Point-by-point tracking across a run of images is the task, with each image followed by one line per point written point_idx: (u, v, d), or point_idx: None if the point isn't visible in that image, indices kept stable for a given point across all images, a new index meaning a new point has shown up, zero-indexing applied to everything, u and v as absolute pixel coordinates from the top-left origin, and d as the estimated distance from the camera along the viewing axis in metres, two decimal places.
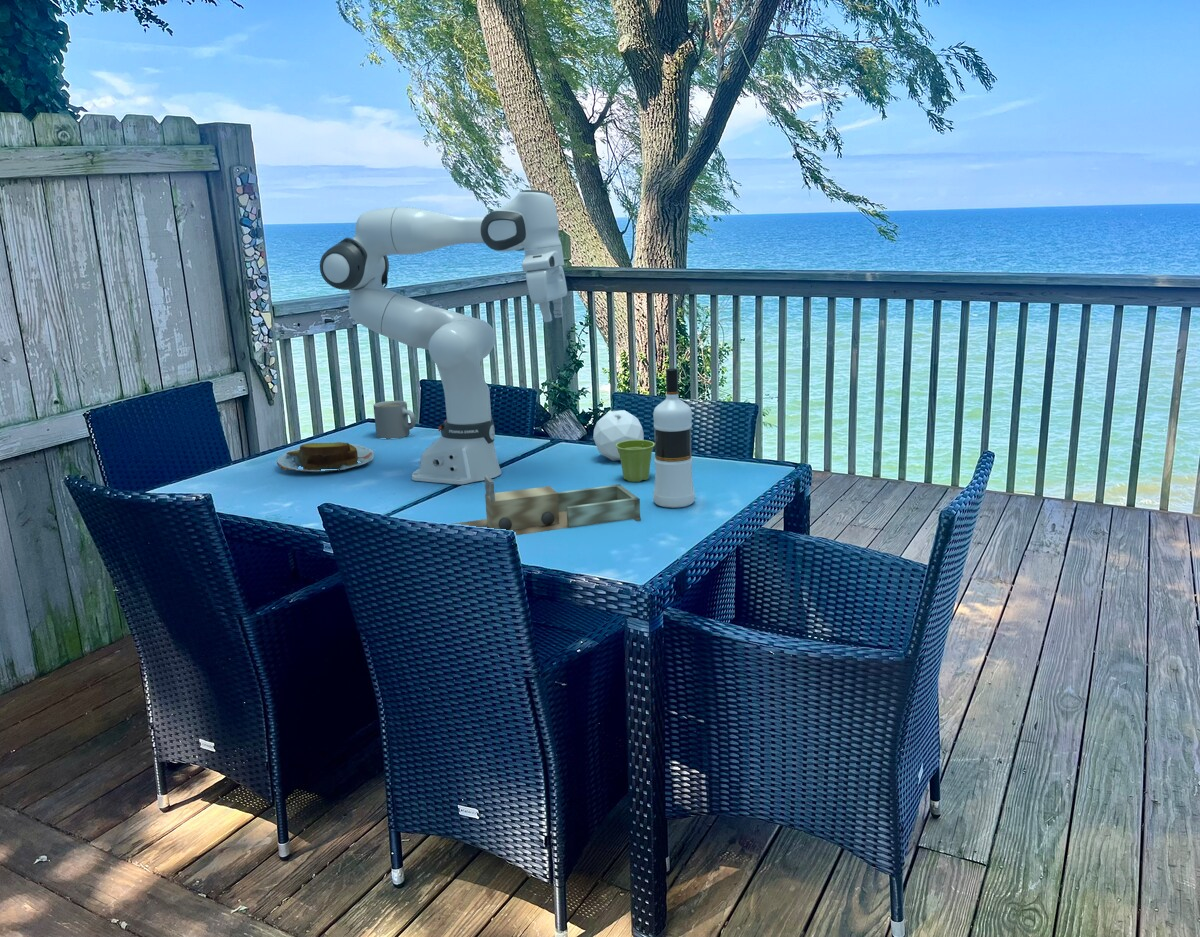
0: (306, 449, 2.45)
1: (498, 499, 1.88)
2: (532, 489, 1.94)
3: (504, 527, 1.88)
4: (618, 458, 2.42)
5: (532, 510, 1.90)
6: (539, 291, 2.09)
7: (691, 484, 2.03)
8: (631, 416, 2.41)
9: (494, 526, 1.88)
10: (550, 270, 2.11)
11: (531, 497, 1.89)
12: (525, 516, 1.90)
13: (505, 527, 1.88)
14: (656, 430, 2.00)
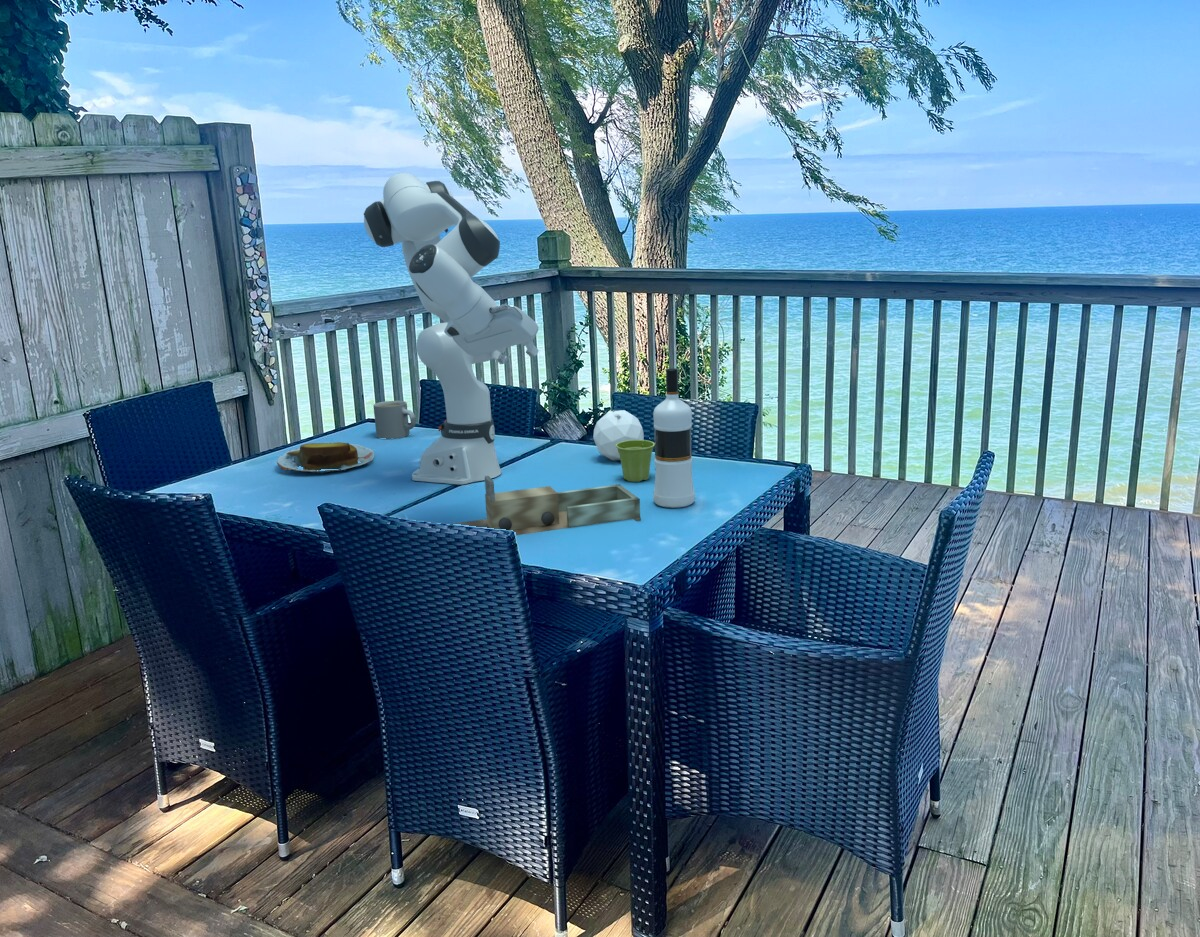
0: (306, 449, 2.45)
1: (498, 499, 1.88)
2: (532, 489, 1.94)
3: (504, 527, 1.88)
4: (618, 458, 2.42)
5: (532, 510, 1.90)
6: None
7: (691, 484, 2.03)
8: (631, 416, 2.41)
9: (494, 526, 1.88)
10: (459, 336, 1.91)
11: (531, 497, 1.89)
12: (525, 516, 1.90)
13: (505, 527, 1.88)
14: (656, 430, 2.00)
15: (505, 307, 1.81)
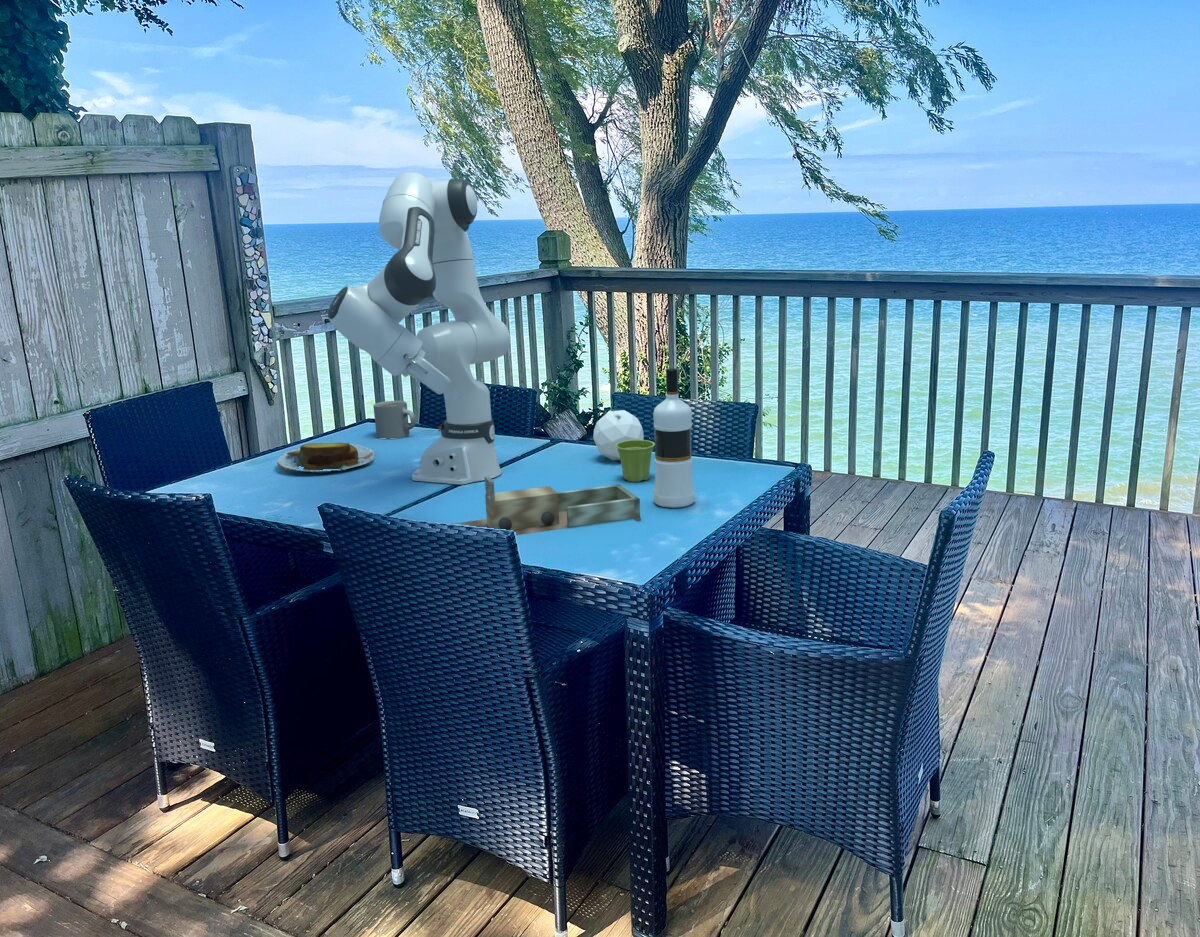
0: (307, 449, 2.45)
1: (498, 499, 1.88)
2: (532, 489, 1.94)
3: (504, 527, 1.88)
4: (618, 458, 2.42)
5: (532, 510, 1.90)
6: None
7: (691, 484, 2.03)
8: (631, 416, 2.41)
9: (494, 526, 1.88)
10: None
11: (531, 497, 1.89)
12: (525, 516, 1.90)
13: (505, 527, 1.88)
14: (656, 430, 2.00)
15: (408, 360, 1.74)
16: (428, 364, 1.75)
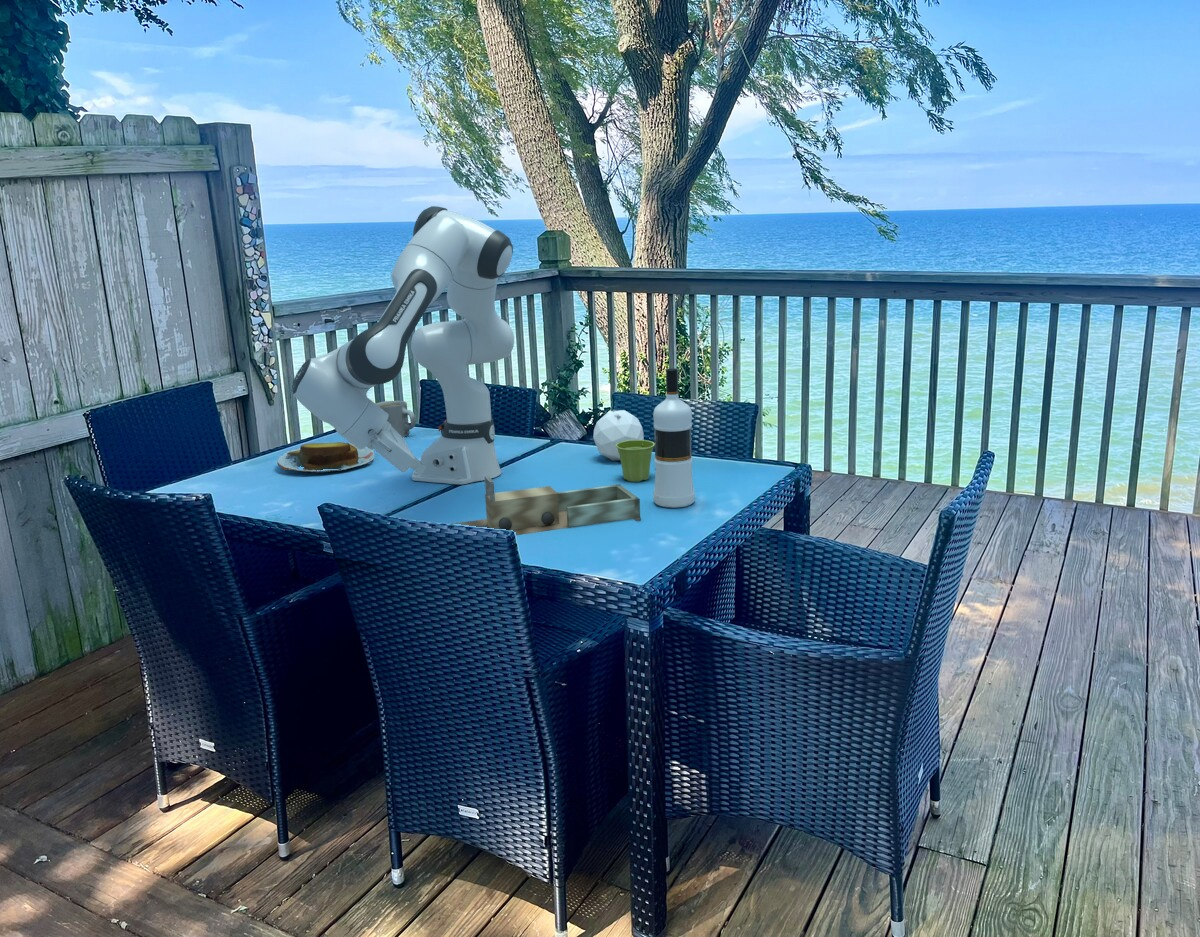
0: (307, 449, 2.45)
1: (498, 499, 1.88)
2: (532, 489, 1.94)
3: (504, 527, 1.88)
4: (618, 458, 2.42)
5: (532, 510, 1.90)
6: None
7: (691, 484, 2.03)
8: (631, 416, 2.41)
9: (494, 526, 1.88)
10: None
11: (531, 497, 1.89)
12: (525, 516, 1.90)
13: (505, 527, 1.88)
14: (656, 430, 2.00)
15: (372, 438, 1.70)
16: (392, 442, 1.71)
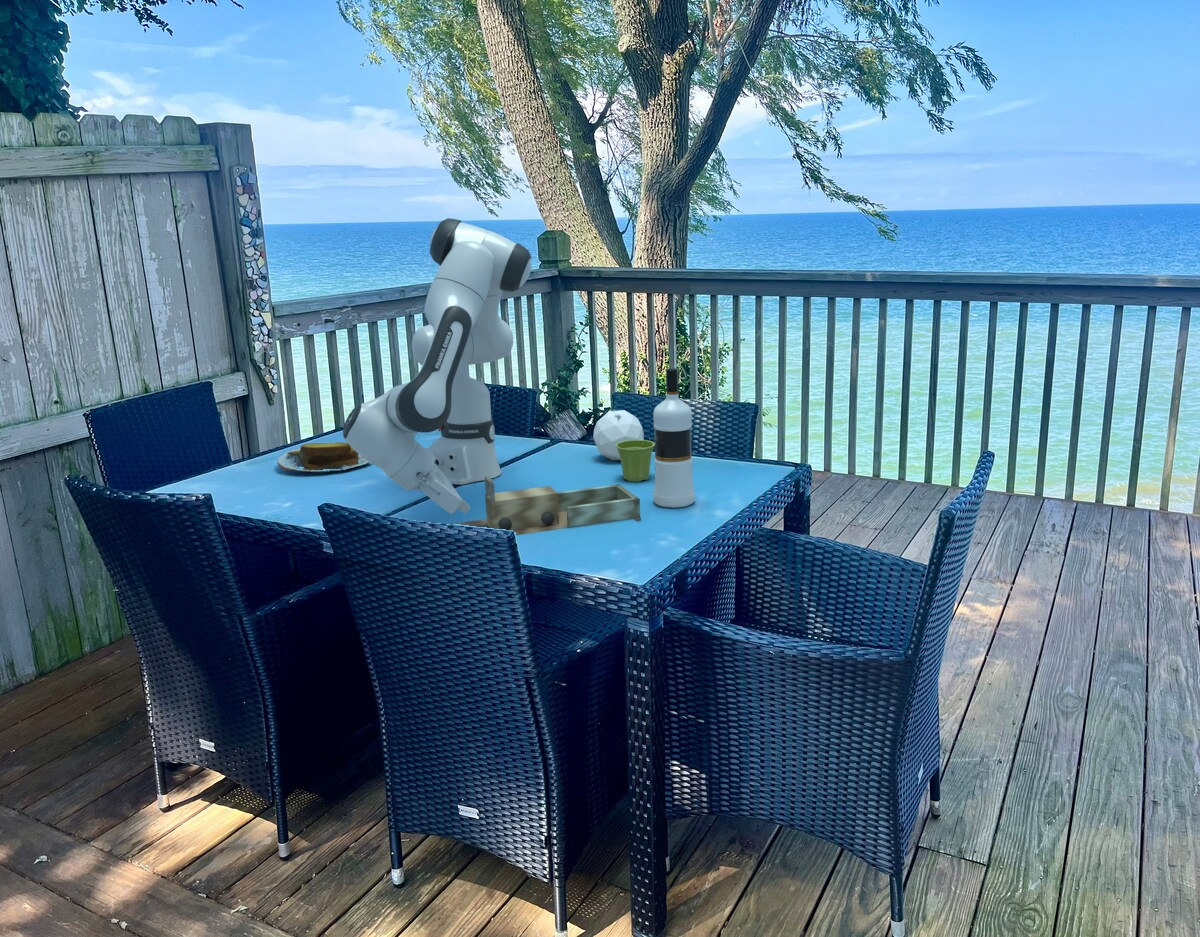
0: (307, 449, 2.45)
1: (498, 499, 1.88)
2: (532, 489, 1.94)
3: (504, 527, 1.88)
4: (618, 458, 2.42)
5: (532, 510, 1.90)
6: None
7: (691, 484, 2.03)
8: (631, 416, 2.41)
9: (494, 526, 1.88)
10: None
11: (531, 497, 1.89)
12: (525, 516, 1.90)
13: (505, 527, 1.88)
14: (656, 430, 2.00)
15: (421, 482, 1.75)
16: (441, 485, 1.76)
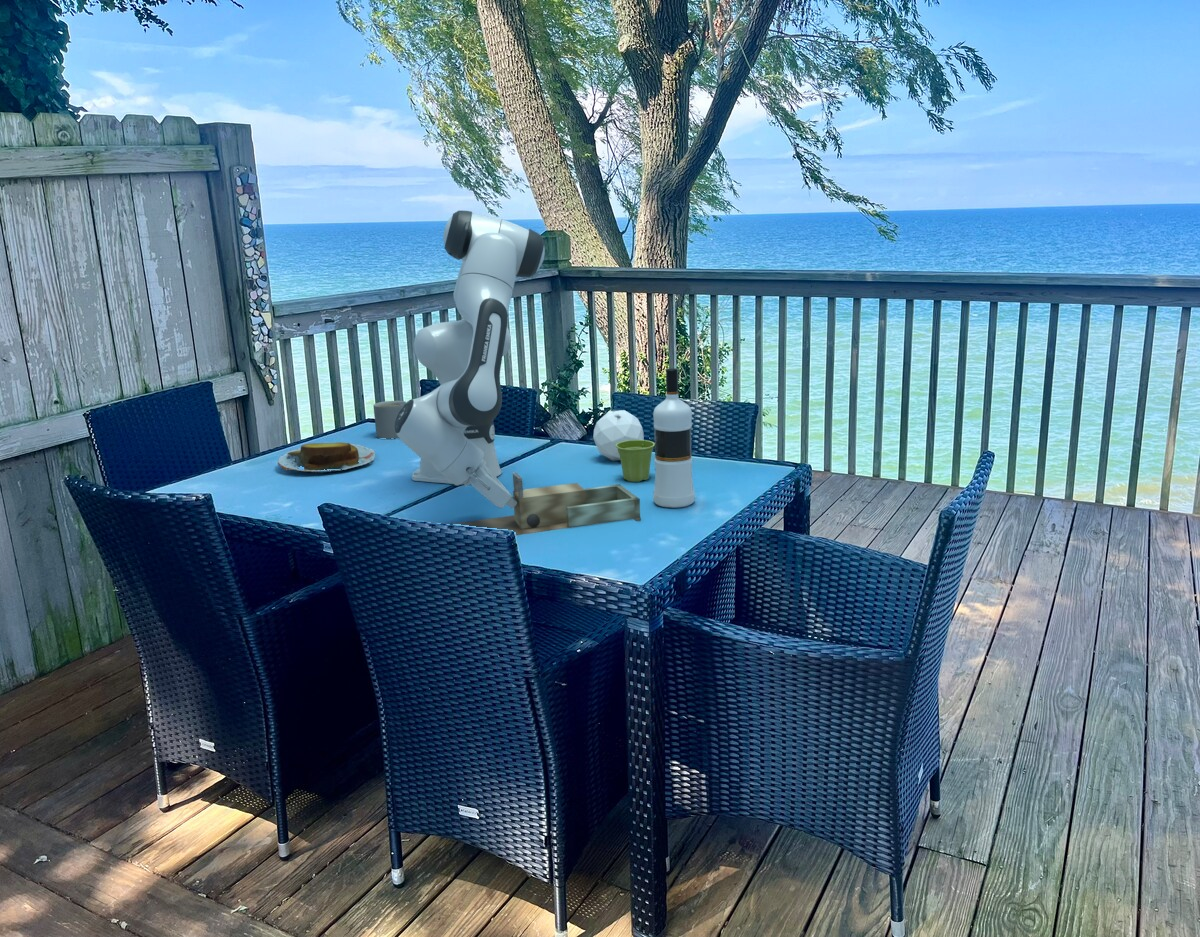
0: (307, 449, 2.45)
1: (526, 496, 1.90)
2: (559, 486, 1.96)
3: (532, 523, 1.90)
4: (618, 458, 2.42)
5: (560, 507, 1.92)
6: None
7: (691, 484, 2.03)
8: (631, 416, 2.41)
9: (522, 522, 1.90)
10: None
11: (559, 493, 1.91)
12: (552, 513, 1.91)
13: (533, 523, 1.90)
14: (656, 430, 2.00)
15: (472, 476, 1.78)
16: (491, 480, 1.79)
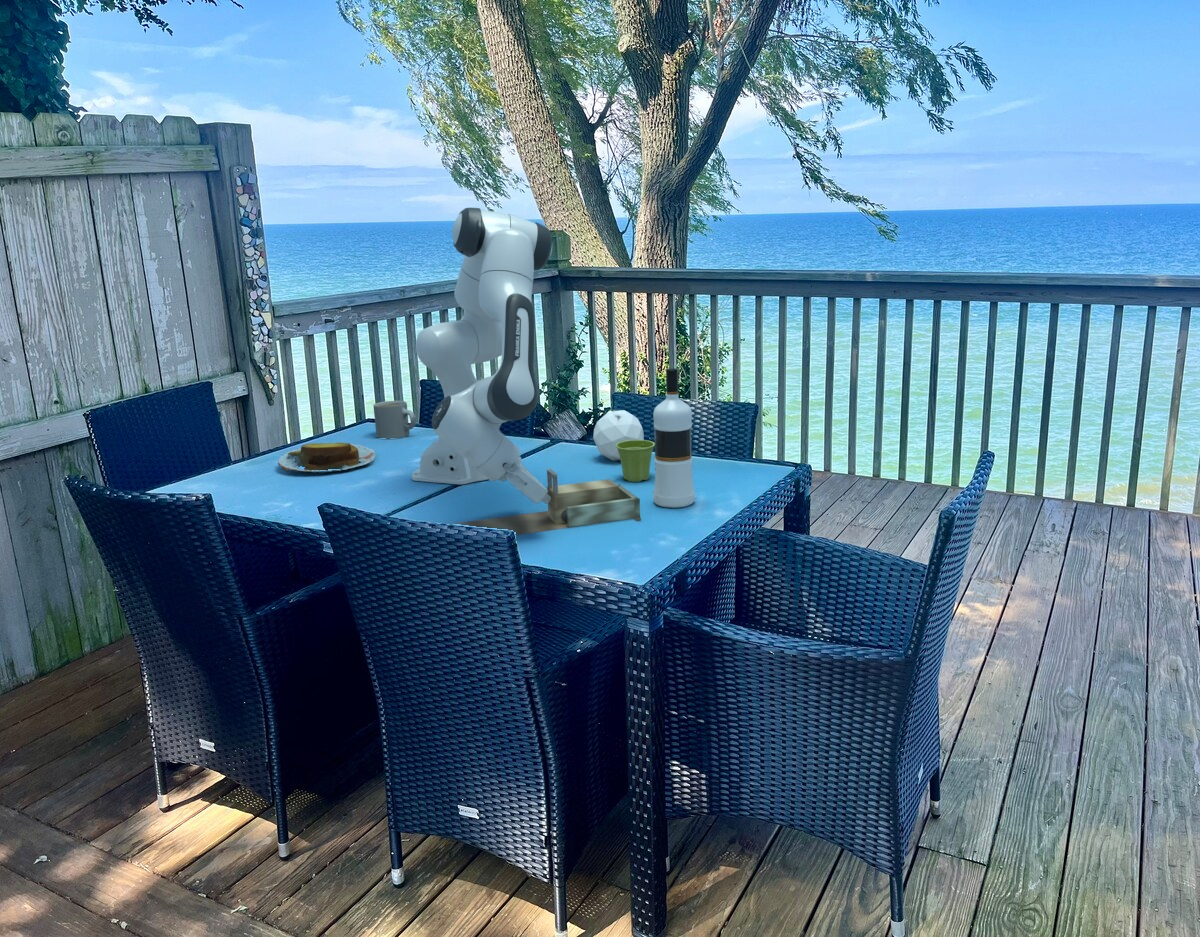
0: (307, 449, 2.45)
1: (561, 491, 1.92)
2: (592, 482, 1.98)
3: None
4: (618, 458, 2.42)
5: None
6: None
7: (691, 484, 2.03)
8: (631, 416, 2.41)
9: (557, 518, 1.92)
10: None
11: (593, 489, 1.93)
12: None
13: None
14: (656, 430, 2.00)
15: (509, 472, 1.80)
16: (528, 475, 1.81)
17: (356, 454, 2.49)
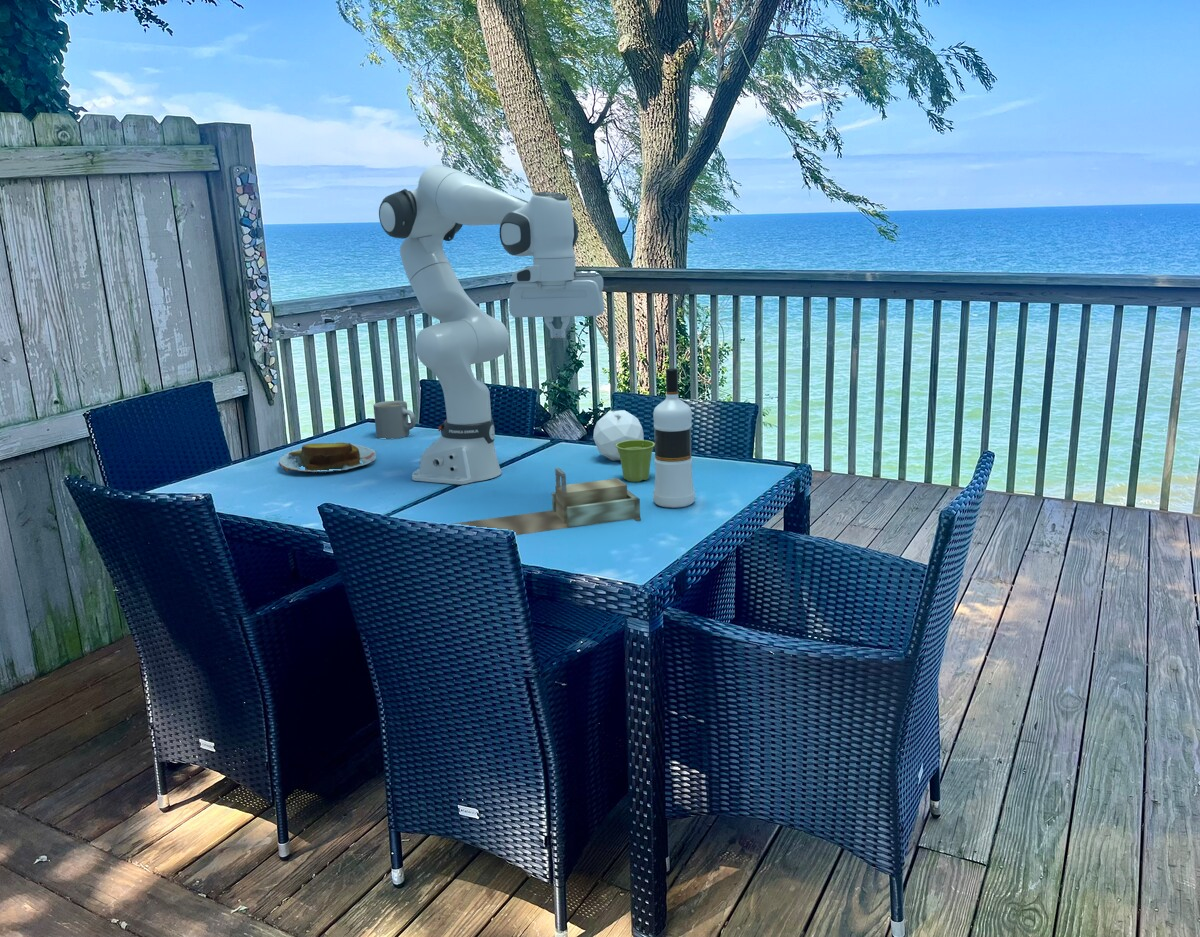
0: (308, 449, 2.45)
1: (569, 491, 1.92)
2: (600, 481, 1.98)
3: None
4: (618, 458, 2.42)
5: None
6: None
7: (691, 484, 2.03)
8: (631, 416, 2.41)
9: (565, 517, 1.92)
10: (524, 284, 1.94)
11: (601, 488, 1.93)
12: None
13: None
14: (656, 430, 2.00)
15: (595, 273, 1.93)
16: None
17: (357, 454, 2.49)
